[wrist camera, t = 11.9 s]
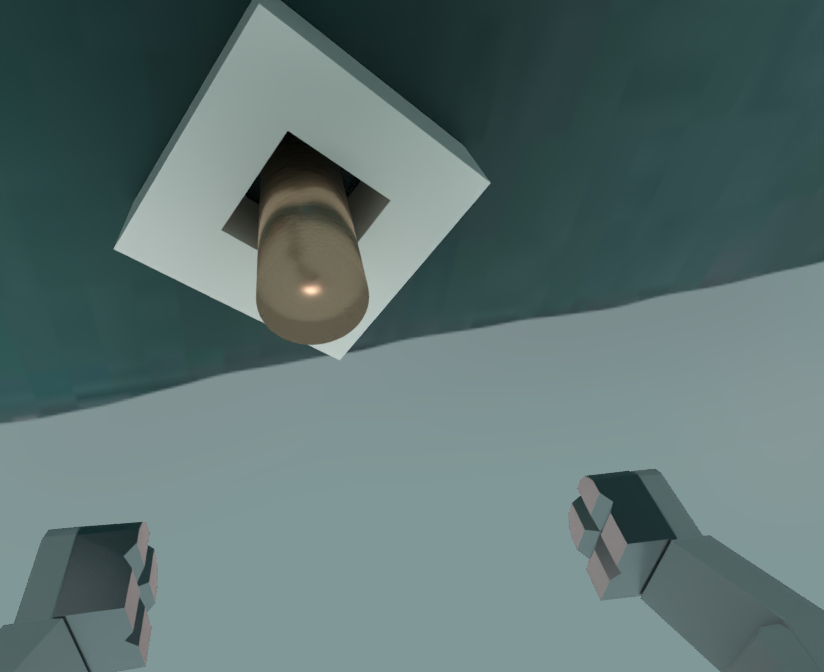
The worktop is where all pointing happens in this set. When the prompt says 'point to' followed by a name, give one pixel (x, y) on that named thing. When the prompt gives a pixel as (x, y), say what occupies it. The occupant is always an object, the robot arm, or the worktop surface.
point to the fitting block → (321, 129)
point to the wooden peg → (307, 248)
